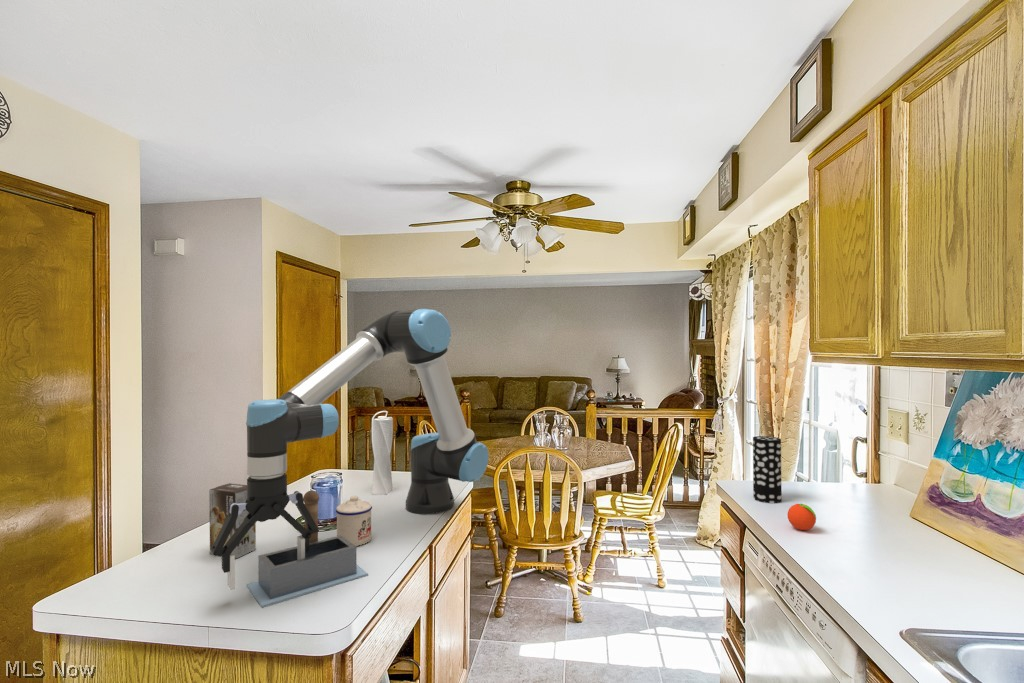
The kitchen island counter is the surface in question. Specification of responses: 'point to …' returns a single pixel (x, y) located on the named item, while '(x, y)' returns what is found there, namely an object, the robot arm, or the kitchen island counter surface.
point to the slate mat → (266, 601)
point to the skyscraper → (382, 453)
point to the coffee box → (219, 512)
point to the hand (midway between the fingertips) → (267, 577)
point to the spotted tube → (767, 469)
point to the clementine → (801, 516)
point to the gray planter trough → (306, 566)
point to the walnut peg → (312, 510)
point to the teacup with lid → (354, 521)
